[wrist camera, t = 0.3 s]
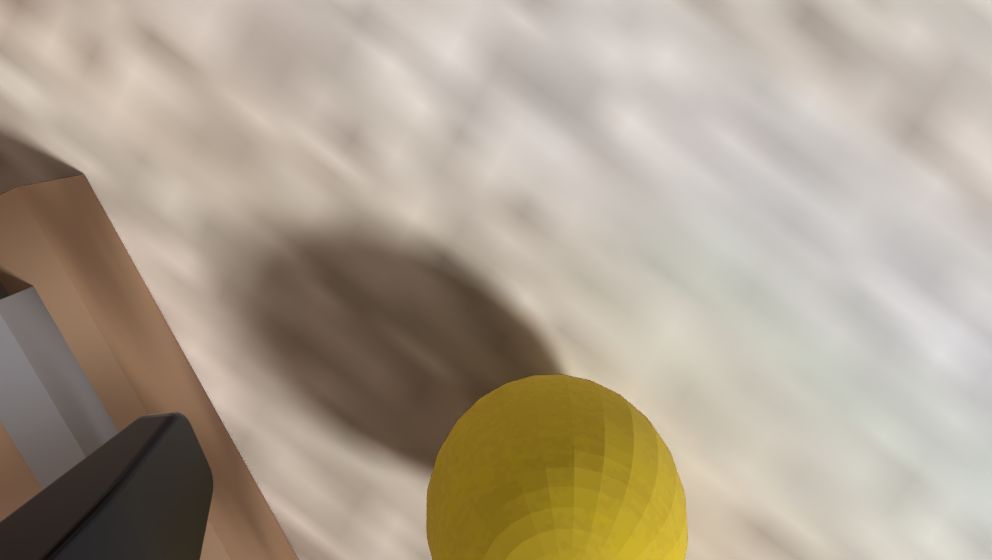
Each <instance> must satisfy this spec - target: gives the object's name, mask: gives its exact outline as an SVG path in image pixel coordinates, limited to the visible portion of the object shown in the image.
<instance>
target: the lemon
mask: <svg viewBox="0 0 992 560" xmlns="http://www.w3.org/2000/svg"><path fill="white" fill-rule="evenodd" d="M426 529H427V539H428V544H429V548H430V552H431V555H432V559H433V560H685V555H686V550H687V542H688V533H687V516H686V500H685V494H684V489H683V486H682V484H681V481H680V478H679V475H678V472H677V469H676V466H675V463H674V461H673V458H672V455H671V453H670V451H669V449H668V447H667V446H666V444H665V443H664V441H663V440H662V438H661V437H660V435H659V434H658V433H657V431H656V430H655V428H654V427H653V425H652V424H651V422H650V421H649V420H648V419H647V417H646V416H645V415H643V414H642V413H641V412H640V411H639V410H637V409H636V408H635V407H634V406H633V405H632V404H630V403H629V402H628V401H627V400H626V399H624V398H623V397H622V396H621V395H620V394H618V393H616V392H614V391H612V390H609V389H607V388H605V387H603V386H601V385H599V384H597V383H595V382H593V381H590V380H586V379H582V378H577V377H572V376H568V375H563V374H557V375H533V376H530V377H526V378H523V379H519V380H516V381H512V382H509V383H506V384H504V385H502V386H501V387H499V388H497V389H495V390H493V391H492V392H490V393H488V394H486V395H485V396H483V397H481V398H480V399H479V400H478V401H477V402H476V403H475V404H474V405H473V406H472V407H471V408H469V409H468V410H467V411H466V412H465V413H464V414H463V415H462V416H461V417H460V418H459V419H458V421H457V422H456V423H455V425H454V427H453V428H452V430H451V432H450V433H449V435H448V437H447V438H446V440H445V441H444V443H443V445H442V446H441V448H440V450H439V452H438V455H437V458H436V462H435V465H434V468H433V472H432V475H431V479H430V482H429V486H428V490H427V528H426Z"/></svg>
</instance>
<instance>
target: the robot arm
mask: <svg viewBox="0 0 992 560" xmlns="http://www.w3.org/2000/svg"><path fill="white" fill-rule="evenodd" d="M212 496H213V475H212V471H211V468H210V465H209V463H208V461H207V458H206V456H205V454H204V452H203V450H202V447H201V445H200V443H199V441H198V438H197V436H196V434H195V432H194V430H193V427H192V425H191V423H190V421H189V420H188V418H187V417H186V416H185V415H184V414H182V413H179V412H166V413H157V414H148V415H143V416H141V417H139V418H137V419H136V420H135V421H133V422H132V423H131V424H129V425H128V426H127V427H125V428H124V429H123V430H121V431H120V432H119V433H117V434H116V435H115V436H113V437H112V438H111V439H109V440H108V441H107V442H105V443H104V444H103V445H101V446H100V447H99V448H97V449H96V450H95V451H94V452H92V453H91V454H90V455H88V456H87V457H86V458H84V459H83V460H82V461H80V462H79V463H78V464H76V465H75V466H74V467H72V468H71V469H70V470H68V471H67V472H66V473H64V474H63V475H62V476H60V477H59V478H58V479H56V480H55V481H54V482H52V483H51V484H50V485H48V486H47V487H46V488H44V489H43V490H42V491H40V492H39V493H38V494H36V495H35V496H34V497H32V498H31V499H30V500H28V501H27V502H26V503H24V504H23V505H22V506H21V507H19V508H18V509H17V510H15V511H14V512H13V513H11V514H10V515H9V516H7V517H6V518H5V519H3V520H2V521H1V522H0V560H200V558H201V552H202V547H203V542H204V537H205V532H206V527H207V521H208V516H209V511H210V506H211V501H212Z"/></svg>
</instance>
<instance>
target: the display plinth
mask: <svg viewBox="0 0 992 560" xmlns="http://www.w3.org/2000/svg"><path fill="white" fill-rule="evenodd" d="M166 412H179V413H182V414H184V415H185V416H186V417H187V418H188V420H189V421H190V423H191V425H192V427H193V430H194V432H195V434H196V436H197V438H198V441H199V443H200V445H201V447H202V450H203V452H204V454H205V456H206V458H207V461H208V463H209V465H210V468H211V471H212V475H213V496H212V501H211V506H210V511H209V516H208V521H207V527H206V532H205V537H204V542H203V547H202V552H201V558H200V560H299V559H298V558H297V556H296V554H295V552H294V550H293V549H292V547H291V545H290V543H289V541H288V540H287V538H286V536H285V534H284V532H283V531H282V529H281V527H280V525H279V523H278V522H277V520H276V518H275V516H274V514H273V513H272V511H271V509H270V507H269V505H268V504H267V502H266V500H265V498H264V496H263V495H262V493H261V491H260V489H259V487H258V486H257V484H256V482H255V480H254V478H253V477H252V475H251V473H250V471H249V470H248V468H247V466H246V464H245V462H244V461H243V459H242V457H241V455H240V453H239V452H238V450H237V448H236V446H235V444H234V443H233V441H232V439H231V437H230V435H229V434H228V432H227V430H226V428H225V426H224V425H223V423H222V421H221V419H220V417H219V416H218V414H217V412H216V410H215V408H214V407H213V405H212V403H211V401H210V399H209V398H208V396H207V394H206V392H205V390H204V389H203V387H202V385H201V383H200V381H199V380H198V378H197V376H196V374H195V372H194V371H193V369H192V367H191V365H190V363H189V362H188V360H187V358H186V356H185V355H184V353H183V351H182V349H181V347H180V346H179V344H178V342H177V340H176V338H175V337H174V335H173V333H172V331H171V329H170V328H169V326H168V324H167V322H166V320H165V319H164V317H163V315H162V313H161V311H160V310H159V308H158V306H157V304H156V302H155V301H154V299H153V297H152V295H151V293H150V292H149V290H148V288H147V286H146V284H145V283H144V281H143V279H142V277H141V275H140V274H139V272H138V270H137V268H136V266H135V265H134V263H133V261H132V259H131V257H130V256H129V254H128V252H127V250H126V249H125V247H124V245H123V243H122V241H121V240H120V238H119V236H118V234H117V232H116V231H115V229H114V227H113V225H112V223H111V222H110V220H109V218H108V216H107V214H106V213H105V211H104V209H103V207H102V205H101V204H100V202H99V200H98V198H97V196H96V195H95V193H94V191H93V189H92V187H91V186H90V184H89V182H88V180H87V178H86V177H85V175H84V174H83V175H78V176H72V177H67V178H62V179H56V180H51V181H46V182H40V183H35V184H30V185H24V186H19V187H16V188H14V189H12V190H10V191H8V192H6V193H4V194H1V195H0V522H1V521H2V520H3V519H5V518H6V517H7V516H9V515H10V514H11V513H13V512H14V511H15V510H17V509H18V508H19V507H21V506H22V505H23V504H24V503H26V502H27V501H28V500H30V499H31V498H32V497H34V496H35V495H36V494H38V493H39V492H40V491H42V490H43V489H44V488H46V487H47V486H48V485H50V484H51V483H52V482H54V481H55V480H56V479H58V478H59V477H60V476H62V475H63V474H64V473H66V472H67V471H68V470H70V469H71V468H72V467H74V466H75V465H76V464H78V463H79V462H80V461H82V460H83V459H84V458H86V457H87V456H88V455H90V454H91V453H92V452H94V451H95V450H96V449H97V448H99V447H100V446H101V445H103V444H104V443H105V442H107V441H108V440H109V439H111V438H112V437H113V436H115V435H116V434H117V433H119V432H120V431H121V430H123V429H124V428H125V427H127V426H128V425H129V424H131V423H132V422H133V421H135V420H136V419H137V418H139V417H141V416H143V415H148V414H157V413H166Z"/></svg>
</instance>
